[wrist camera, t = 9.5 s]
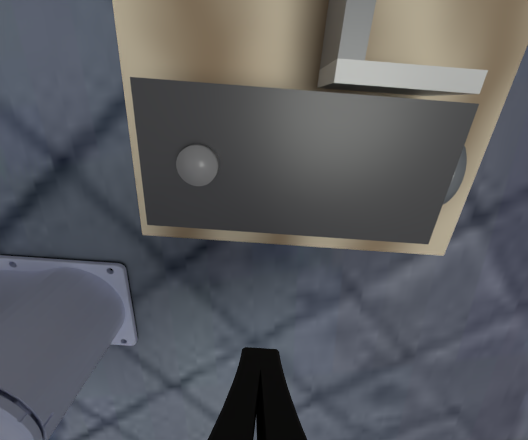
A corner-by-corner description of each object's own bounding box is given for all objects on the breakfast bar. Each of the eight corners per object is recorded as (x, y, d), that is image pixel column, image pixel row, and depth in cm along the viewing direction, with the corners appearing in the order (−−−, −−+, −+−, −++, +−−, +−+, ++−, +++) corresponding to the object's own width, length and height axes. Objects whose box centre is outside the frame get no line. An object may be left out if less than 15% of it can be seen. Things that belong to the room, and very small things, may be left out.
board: (149, 227, 19) (142, 234, 17) (120, -33, 13) (106, -46, 12) (433, 246, 19) (443, 255, 18) (525, 0, 13) (548, -9, 12)
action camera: (177, 194, 16) (141, 230, 12) (170, 84, 14) (121, 74, 9) (401, 209, 17) (453, 252, 12) (432, 104, 14) (514, 105, 9)
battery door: (316, 87, 14) (333, 82, 10) (331, -20, 12) (357, -71, 8) (425, 96, 14) (479, 93, 10) (456, -10, 12) (532, -56, 8)
